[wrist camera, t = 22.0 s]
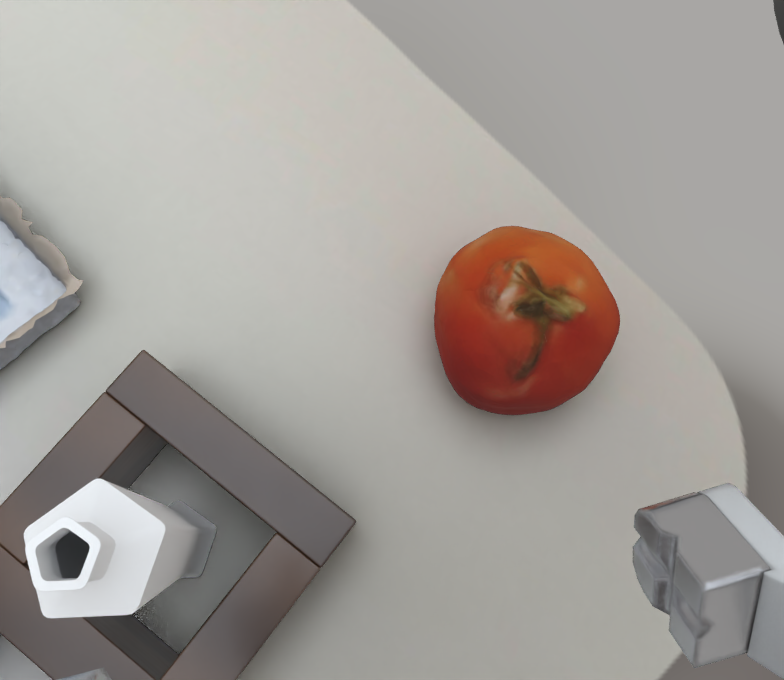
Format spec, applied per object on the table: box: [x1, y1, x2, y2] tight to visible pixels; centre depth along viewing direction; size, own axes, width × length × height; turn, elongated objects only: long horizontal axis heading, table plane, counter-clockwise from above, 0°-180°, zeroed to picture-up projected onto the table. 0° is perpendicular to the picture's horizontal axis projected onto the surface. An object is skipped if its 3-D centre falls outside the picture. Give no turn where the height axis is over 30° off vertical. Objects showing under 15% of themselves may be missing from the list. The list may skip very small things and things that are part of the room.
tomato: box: [434, 226, 620, 415], centre depth 35 cm, size 9×9×8 cm
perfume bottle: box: [24, 479, 217, 618], centre depth 28 cm, size 5×4×15 cm
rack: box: [0, 350, 356, 680], centre depth 32 cm, size 22×12×5 cm, turn 142°
